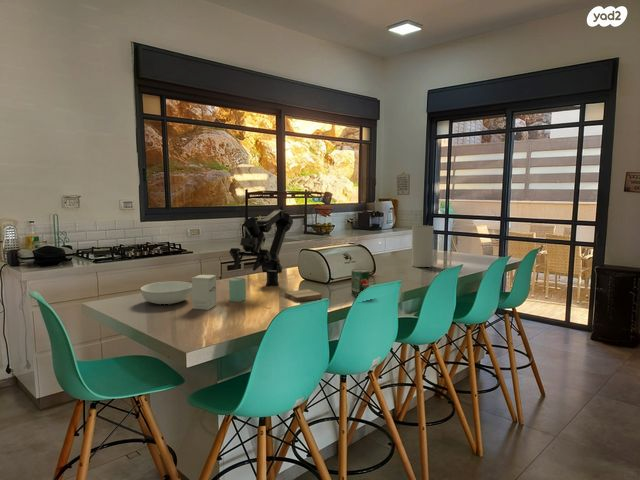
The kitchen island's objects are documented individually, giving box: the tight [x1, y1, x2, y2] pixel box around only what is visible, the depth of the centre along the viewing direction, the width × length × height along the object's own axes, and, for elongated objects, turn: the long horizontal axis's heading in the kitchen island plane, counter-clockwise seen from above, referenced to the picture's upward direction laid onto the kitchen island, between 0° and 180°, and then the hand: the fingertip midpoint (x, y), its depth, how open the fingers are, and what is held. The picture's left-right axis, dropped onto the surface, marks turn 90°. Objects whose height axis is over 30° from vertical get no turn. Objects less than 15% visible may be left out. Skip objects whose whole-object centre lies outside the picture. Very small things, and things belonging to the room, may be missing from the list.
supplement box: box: [191, 274, 217, 311], centre depth 179 cm, size 7×7×13 cm
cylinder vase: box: [411, 224, 434, 268], centre depth 276 cm, size 12×12×25 cm
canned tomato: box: [351, 268, 370, 297], centre depth 201 cm, size 8×8×11 cm
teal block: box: [228, 277, 247, 303], centre depth 191 cm, size 5×5×9 cm
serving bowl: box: [140, 280, 192, 305], centre depth 188 cm, size 21×21×7 cm
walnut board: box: [284, 288, 323, 303], centre depth 196 cm, size 12×12×2 cm
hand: (244, 269), depth 196 cm, fingers open, 9 cm apart
